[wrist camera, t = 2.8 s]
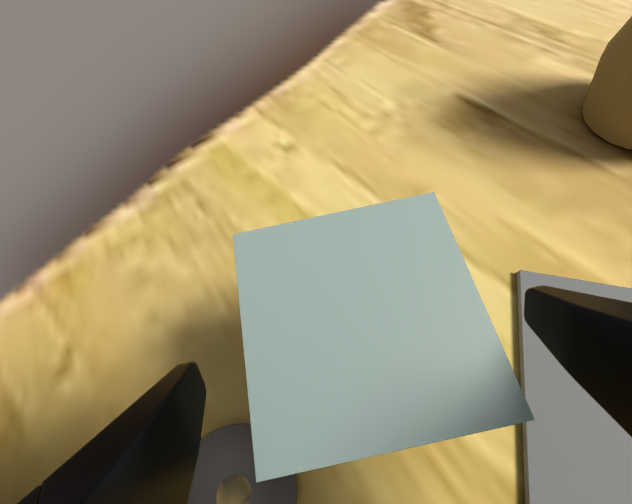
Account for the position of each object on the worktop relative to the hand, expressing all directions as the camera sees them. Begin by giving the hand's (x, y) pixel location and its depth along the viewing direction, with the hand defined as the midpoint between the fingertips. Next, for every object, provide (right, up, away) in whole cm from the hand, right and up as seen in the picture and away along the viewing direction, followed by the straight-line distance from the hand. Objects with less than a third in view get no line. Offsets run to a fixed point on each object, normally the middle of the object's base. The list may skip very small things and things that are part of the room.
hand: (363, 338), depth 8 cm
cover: (+1, -3, +8) cm, 9 cm away
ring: (-5, -9, +6) cm, 12 cm away
